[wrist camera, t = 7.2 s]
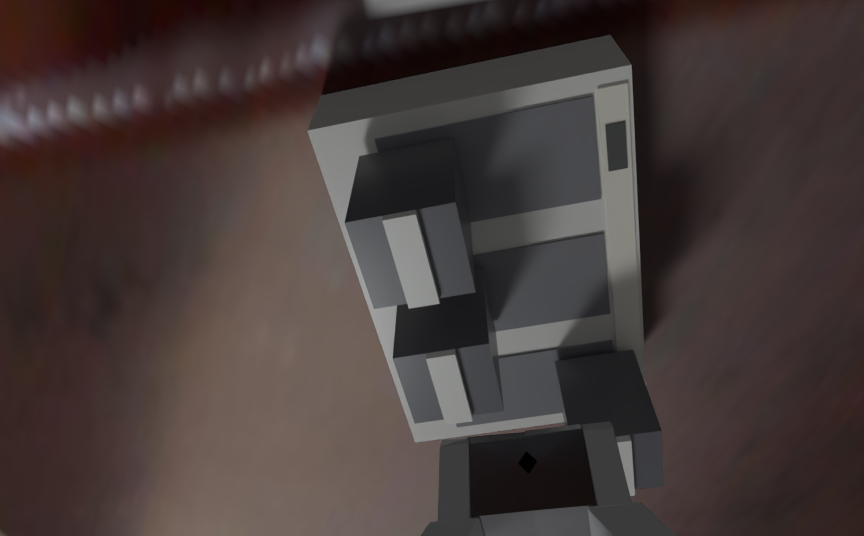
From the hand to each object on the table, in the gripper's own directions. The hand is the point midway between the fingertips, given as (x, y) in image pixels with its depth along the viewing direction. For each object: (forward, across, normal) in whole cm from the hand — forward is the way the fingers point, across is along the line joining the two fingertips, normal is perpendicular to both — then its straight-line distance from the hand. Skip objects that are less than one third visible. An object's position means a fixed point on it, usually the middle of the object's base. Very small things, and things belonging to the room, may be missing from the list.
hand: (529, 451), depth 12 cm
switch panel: (+15, +1, +6) cm, 16 cm away
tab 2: (+11, -2, +10) cm, 16 cm away
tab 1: (+11, +3, 0) cm, 12 cm away
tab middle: (+11, +3, +6) cm, 13 cm away
